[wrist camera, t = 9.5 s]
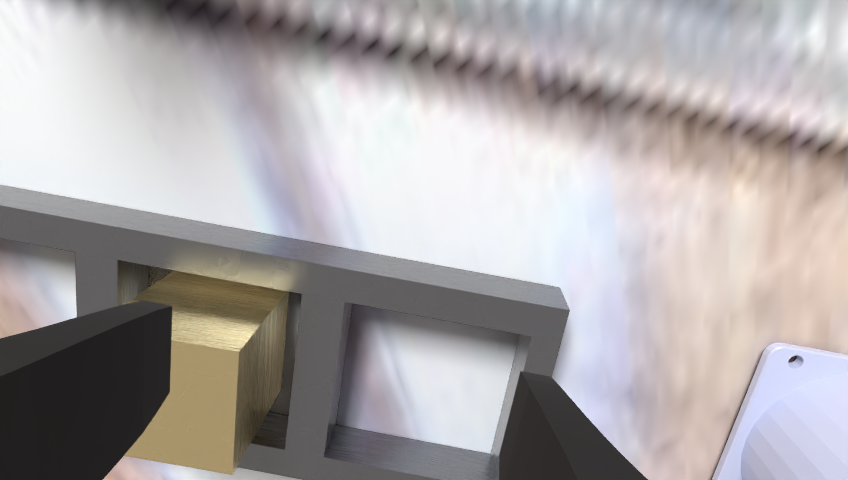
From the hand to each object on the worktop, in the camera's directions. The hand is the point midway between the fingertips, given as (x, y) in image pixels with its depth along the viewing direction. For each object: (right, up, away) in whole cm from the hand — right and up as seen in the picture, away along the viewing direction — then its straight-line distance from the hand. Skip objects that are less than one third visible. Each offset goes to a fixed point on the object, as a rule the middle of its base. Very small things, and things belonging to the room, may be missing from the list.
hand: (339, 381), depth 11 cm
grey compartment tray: (-6, -1, +11) cm, 12 cm away
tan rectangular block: (-6, -1, +11) cm, 12 cm away
